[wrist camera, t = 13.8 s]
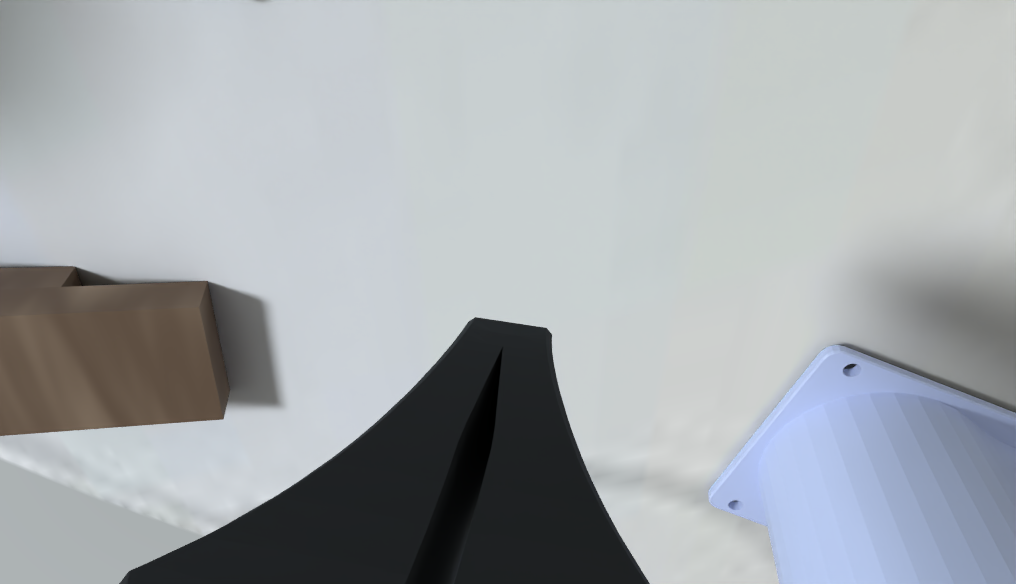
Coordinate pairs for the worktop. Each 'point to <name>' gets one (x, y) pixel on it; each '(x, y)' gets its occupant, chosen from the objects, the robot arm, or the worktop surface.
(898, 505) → the robot arm
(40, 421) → the domino
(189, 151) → the worktop surface
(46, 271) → the domino
